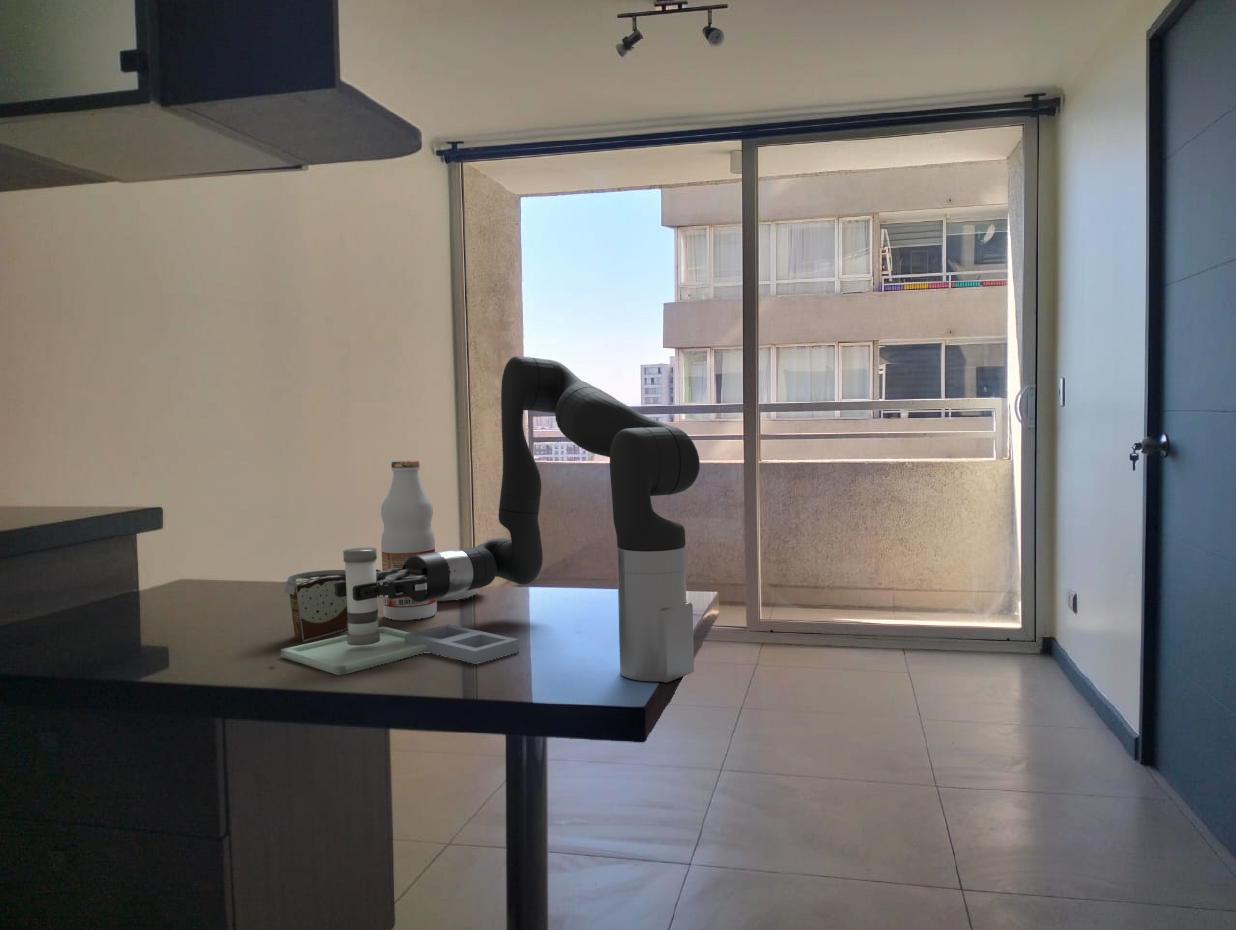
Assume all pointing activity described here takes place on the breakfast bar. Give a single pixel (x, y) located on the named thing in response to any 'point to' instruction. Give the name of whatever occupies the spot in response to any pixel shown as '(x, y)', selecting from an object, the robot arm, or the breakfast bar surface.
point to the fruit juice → (406, 535)
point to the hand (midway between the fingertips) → (345, 591)
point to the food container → (317, 604)
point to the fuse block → (463, 643)
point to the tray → (353, 652)
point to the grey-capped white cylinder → (365, 611)
